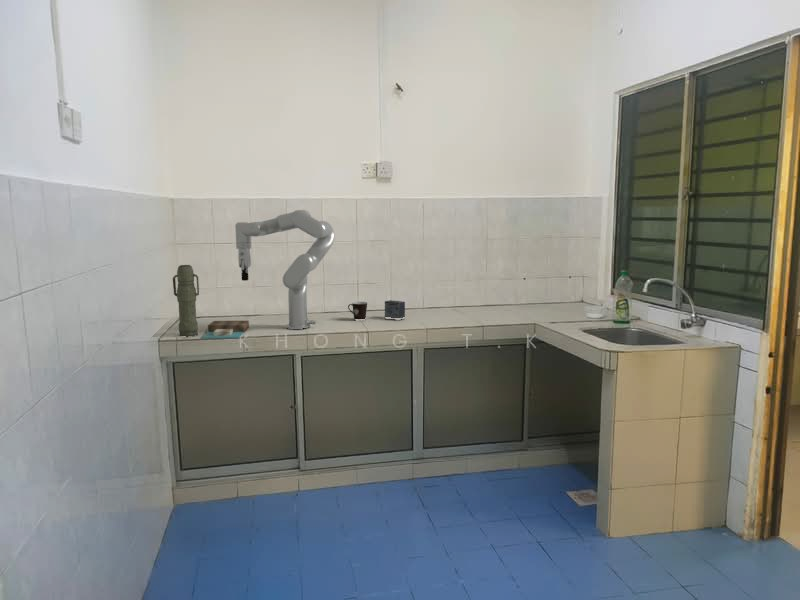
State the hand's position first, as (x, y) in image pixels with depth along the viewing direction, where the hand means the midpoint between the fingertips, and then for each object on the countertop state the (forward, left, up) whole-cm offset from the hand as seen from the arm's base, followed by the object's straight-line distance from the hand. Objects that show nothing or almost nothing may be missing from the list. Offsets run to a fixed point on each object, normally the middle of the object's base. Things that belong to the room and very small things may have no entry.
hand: (245, 280), depth 302 cm
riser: (+7, +11, -25) cm, 28 cm away
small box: (-81, -17, -25) cm, 87 cm away
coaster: (+7, +23, -22) cm, 33 cm away
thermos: (+24, +22, -25) cm, 41 cm away
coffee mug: (-60, -16, -25) cm, 67 cm away
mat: (+7, +24, -25) cm, 35 cm away
